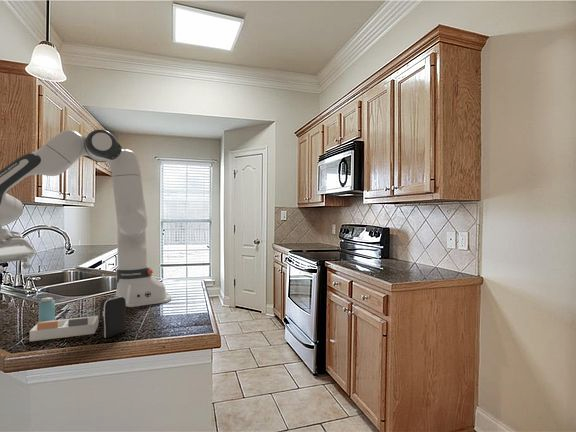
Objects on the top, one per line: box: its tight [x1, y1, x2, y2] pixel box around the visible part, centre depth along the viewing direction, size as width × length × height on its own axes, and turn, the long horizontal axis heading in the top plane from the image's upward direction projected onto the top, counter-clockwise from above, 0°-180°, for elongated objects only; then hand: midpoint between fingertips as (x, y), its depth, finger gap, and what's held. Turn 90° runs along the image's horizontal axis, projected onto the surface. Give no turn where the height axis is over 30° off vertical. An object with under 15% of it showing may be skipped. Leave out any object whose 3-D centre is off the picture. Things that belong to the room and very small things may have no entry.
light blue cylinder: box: [38, 296, 56, 322], centre depth 112 cm, size 4×4×9 cm
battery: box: [99, 295, 127, 339], centre depth 104 cm, size 7×4×11 cm, turn 155°
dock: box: [29, 315, 99, 342], centre depth 105 cm, size 16×9×5 cm, turn 112°
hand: (15, 269), depth 115 cm, fingers open, 8 cm apart
